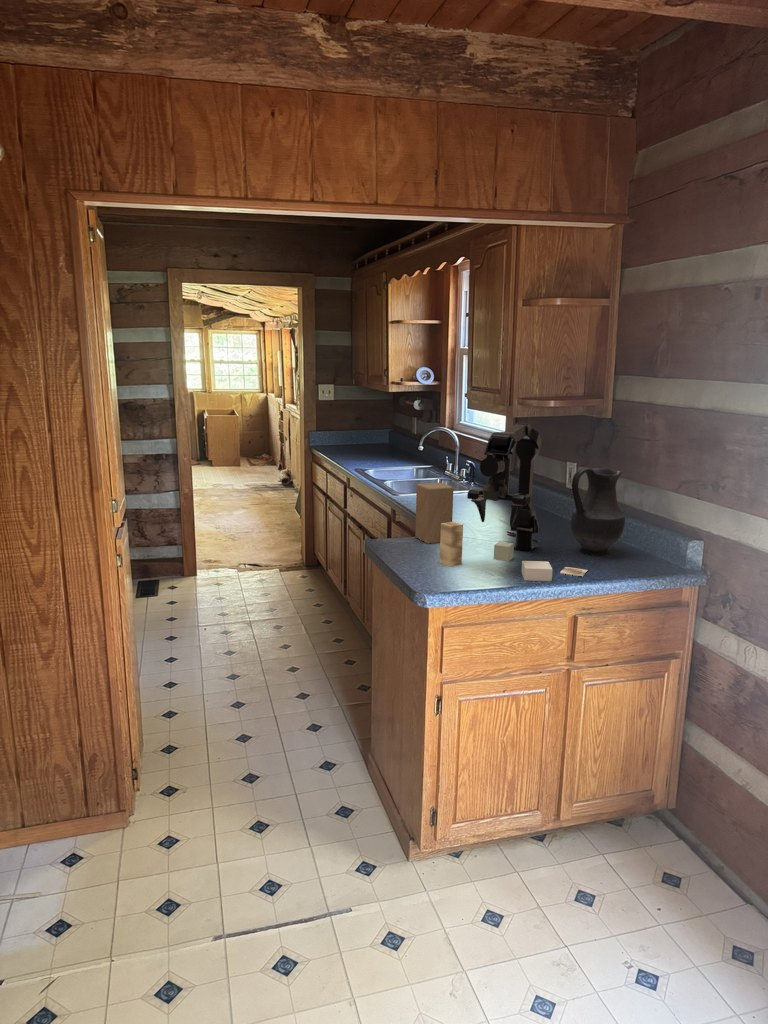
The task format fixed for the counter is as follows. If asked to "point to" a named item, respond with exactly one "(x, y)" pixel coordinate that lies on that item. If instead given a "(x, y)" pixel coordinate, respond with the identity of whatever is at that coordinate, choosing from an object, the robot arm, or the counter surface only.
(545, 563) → the cream base block
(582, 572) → the tile
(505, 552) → the sage cube
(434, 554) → the counter surface
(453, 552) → the maple block
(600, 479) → the pitcher
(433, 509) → the wooden block
